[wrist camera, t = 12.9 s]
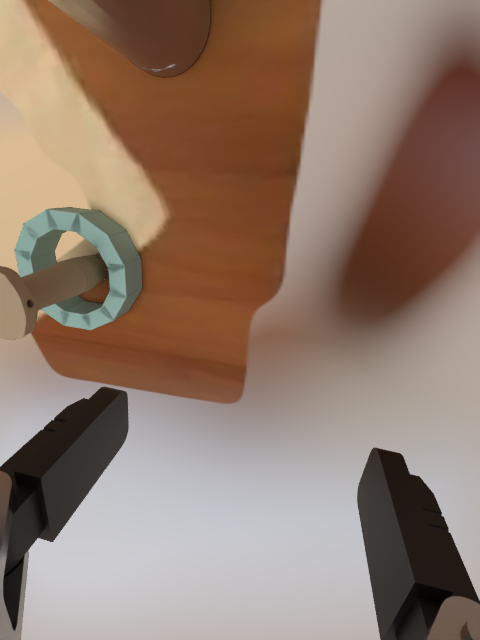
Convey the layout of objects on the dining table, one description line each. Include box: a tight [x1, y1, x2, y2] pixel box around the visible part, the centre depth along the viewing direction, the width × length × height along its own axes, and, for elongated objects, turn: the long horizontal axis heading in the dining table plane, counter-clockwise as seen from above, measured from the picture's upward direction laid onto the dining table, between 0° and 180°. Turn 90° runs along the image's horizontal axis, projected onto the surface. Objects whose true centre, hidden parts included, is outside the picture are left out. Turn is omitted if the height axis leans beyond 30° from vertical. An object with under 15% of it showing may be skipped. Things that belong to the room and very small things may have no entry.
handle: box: [0, 255, 109, 340], centre depth 34 cm, size 5×6×15 cm
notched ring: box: [15, 207, 143, 330], centre depth 39 cm, size 14×14×4 cm
